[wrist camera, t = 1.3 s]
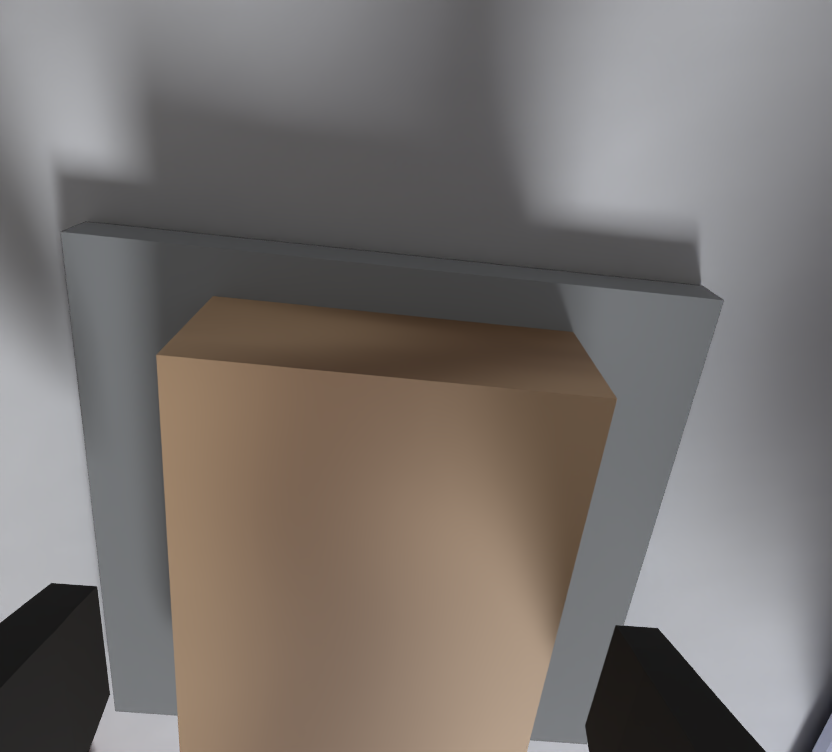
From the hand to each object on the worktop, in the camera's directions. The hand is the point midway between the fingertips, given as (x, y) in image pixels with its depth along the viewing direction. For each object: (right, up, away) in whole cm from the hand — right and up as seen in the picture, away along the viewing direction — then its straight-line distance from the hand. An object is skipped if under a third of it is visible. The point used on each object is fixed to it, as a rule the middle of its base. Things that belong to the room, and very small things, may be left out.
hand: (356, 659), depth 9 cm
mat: (0, +1, +3) cm, 4 cm away
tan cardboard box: (0, +1, +3) cm, 3 cm away
